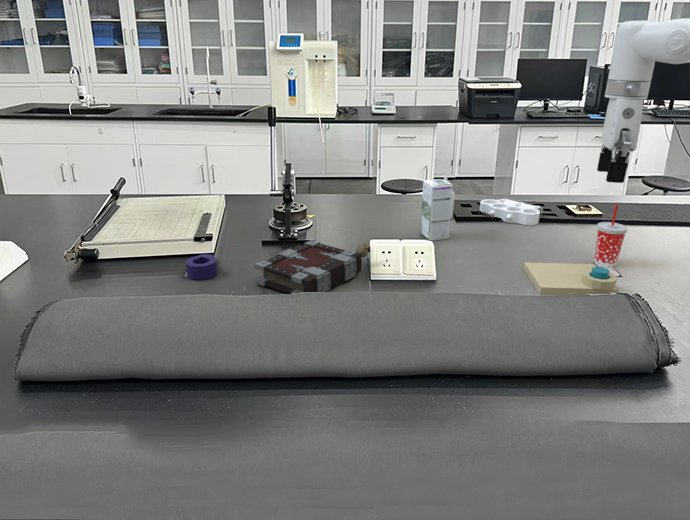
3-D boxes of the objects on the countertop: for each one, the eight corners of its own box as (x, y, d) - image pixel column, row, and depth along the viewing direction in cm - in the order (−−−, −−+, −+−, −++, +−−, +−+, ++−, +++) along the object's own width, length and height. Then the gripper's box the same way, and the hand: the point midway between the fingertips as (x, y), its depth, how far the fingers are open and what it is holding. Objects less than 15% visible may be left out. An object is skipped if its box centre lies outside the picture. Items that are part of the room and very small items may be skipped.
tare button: (604, 273, 108) (605, 266, 107) (610, 280, 105) (612, 273, 104) (588, 273, 108) (589, 266, 107) (594, 280, 105) (595, 272, 104)
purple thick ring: (216, 279, 112) (215, 265, 111) (185, 281, 111) (183, 267, 110) (220, 258, 123) (218, 245, 122) (192, 259, 122) (190, 246, 121)
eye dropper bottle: (448, 221, 149) (452, 179, 144) (430, 218, 152) (433, 177, 147) (454, 217, 152) (458, 176, 148) (436, 214, 155) (439, 174, 151)
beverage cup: (587, 257, 124) (598, 199, 119) (615, 259, 123) (628, 201, 118) (593, 267, 119) (605, 207, 113) (622, 270, 118) (636, 209, 112)
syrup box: (449, 239, 136) (454, 183, 130) (428, 241, 134) (432, 185, 129) (439, 232, 141) (443, 178, 135) (419, 234, 139) (422, 179, 134)
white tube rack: (552, 218, 153) (526, 229, 143) (497, 205, 165) (470, 214, 155) (554, 206, 151) (528, 217, 142) (498, 194, 163) (471, 203, 154)
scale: (592, 271, 117) (595, 256, 116) (618, 298, 104) (621, 282, 103) (523, 269, 118) (525, 254, 116) (540, 296, 105) (543, 280, 104)
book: (255, 284, 109) (253, 261, 108) (329, 250, 128) (329, 230, 126) (309, 304, 101) (308, 280, 99) (380, 264, 120) (381, 243, 118)
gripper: (661, 94, 95) (640, 188, 101) (637, 87, 110) (620, 168, 117) (615, 93, 96) (597, 185, 103) (598, 86, 112) (583, 166, 118)
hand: (609, 176), depth 110 cm, fingers open, 9 cm apart
